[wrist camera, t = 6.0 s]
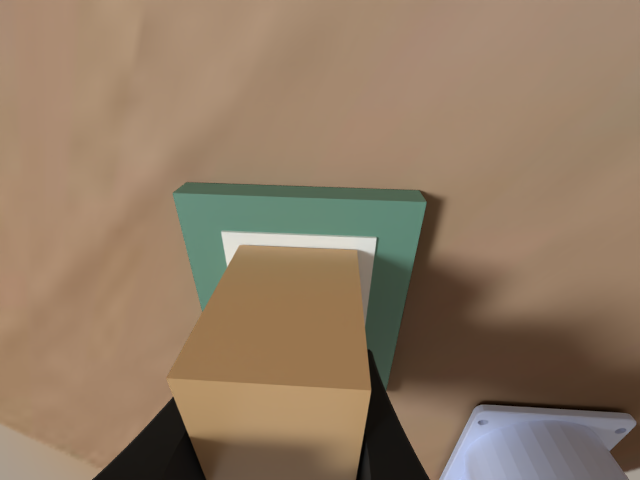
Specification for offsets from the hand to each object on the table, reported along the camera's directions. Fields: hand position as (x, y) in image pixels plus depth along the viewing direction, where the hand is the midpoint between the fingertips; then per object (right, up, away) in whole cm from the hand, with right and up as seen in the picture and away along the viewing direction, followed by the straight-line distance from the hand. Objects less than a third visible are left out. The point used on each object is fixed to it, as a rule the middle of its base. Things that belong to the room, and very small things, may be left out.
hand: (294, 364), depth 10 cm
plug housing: (0, +1, +1) cm, 2 cm away
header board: (0, +1, +3) cm, 3 cm away
